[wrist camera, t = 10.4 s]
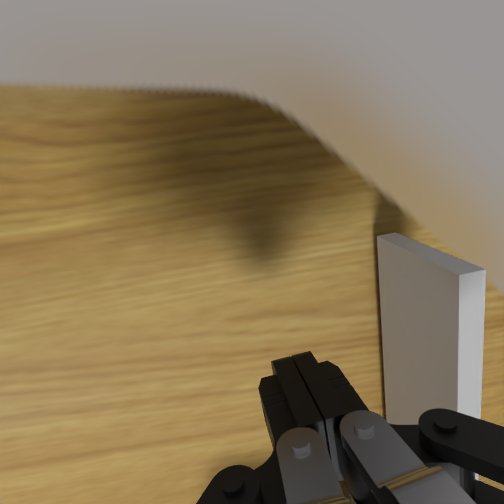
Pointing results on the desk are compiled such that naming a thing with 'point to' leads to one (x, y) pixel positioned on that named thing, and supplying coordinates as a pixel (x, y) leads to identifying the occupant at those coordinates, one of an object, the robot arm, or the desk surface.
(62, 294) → the desk surface
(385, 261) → the door
